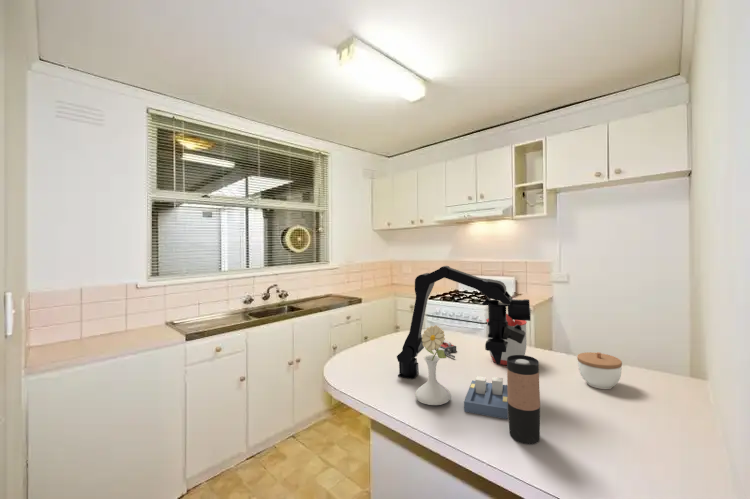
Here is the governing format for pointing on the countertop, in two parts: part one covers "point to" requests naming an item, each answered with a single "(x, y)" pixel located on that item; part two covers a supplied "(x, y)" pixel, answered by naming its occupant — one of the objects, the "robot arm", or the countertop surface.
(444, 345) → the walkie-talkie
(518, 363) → the travel mug
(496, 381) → the right tab
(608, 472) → the countertop surface
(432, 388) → the flower in vase
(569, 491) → the countertop surface
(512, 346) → the citrus juicer
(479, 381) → the left tab
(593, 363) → the lidded bowl
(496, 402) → the switch panel
